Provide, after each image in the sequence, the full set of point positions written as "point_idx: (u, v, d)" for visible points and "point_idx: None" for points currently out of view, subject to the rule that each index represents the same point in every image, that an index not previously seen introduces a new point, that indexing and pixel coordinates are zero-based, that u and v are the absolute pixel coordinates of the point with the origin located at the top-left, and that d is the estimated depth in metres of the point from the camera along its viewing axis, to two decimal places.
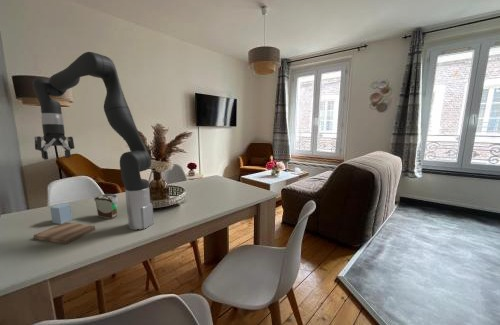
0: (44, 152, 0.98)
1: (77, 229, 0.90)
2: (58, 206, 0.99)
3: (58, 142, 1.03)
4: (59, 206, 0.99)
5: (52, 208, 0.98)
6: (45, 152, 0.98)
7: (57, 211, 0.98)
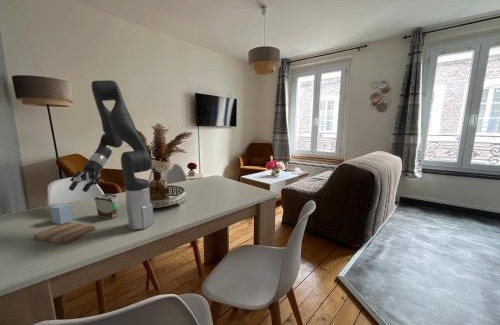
0: (72, 183, 1.10)
1: (77, 229, 0.90)
2: (58, 206, 0.99)
3: (85, 176, 1.11)
4: (59, 206, 0.99)
5: (52, 208, 0.98)
6: (72, 183, 1.10)
7: (57, 211, 0.98)
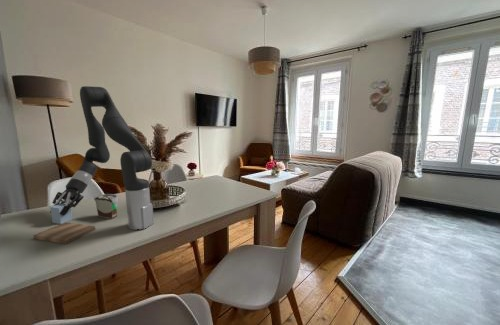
0: None
1: (77, 229, 0.90)
2: (58, 206, 0.99)
3: None
4: (59, 206, 0.99)
5: (52, 208, 0.98)
6: None
7: (57, 211, 0.98)
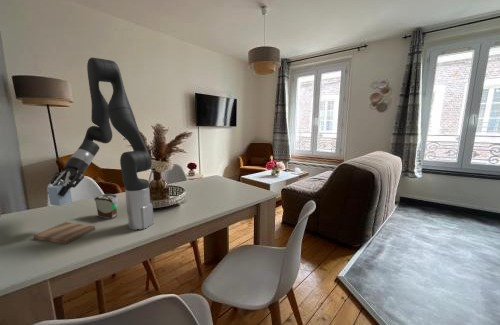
0: None
1: (77, 229, 0.90)
2: (56, 186, 0.90)
3: (66, 175, 0.94)
4: (57, 186, 0.90)
5: (50, 188, 0.89)
6: None
7: (55, 192, 0.89)
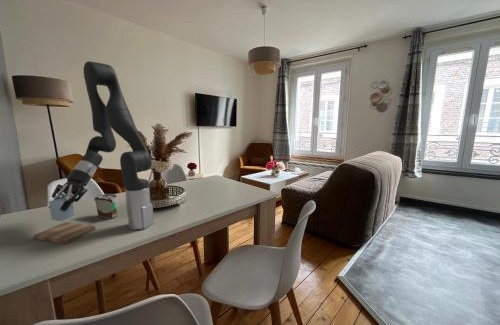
0: None
1: (77, 229, 0.90)
2: (58, 200, 0.86)
3: (69, 189, 0.90)
4: (59, 200, 0.86)
5: (51, 203, 0.85)
6: None
7: (57, 206, 0.85)
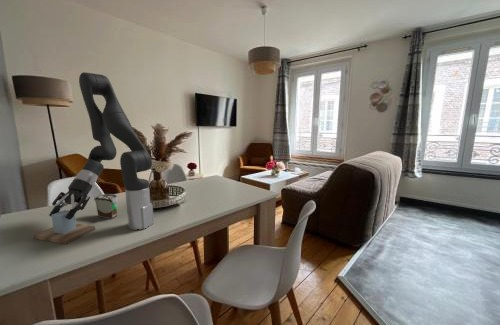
0: (54, 208, 0.89)
1: (77, 229, 0.90)
2: (60, 213, 0.87)
3: (70, 199, 0.90)
4: (61, 213, 0.87)
5: (54, 216, 0.86)
6: (54, 208, 0.89)
7: (60, 220, 0.86)
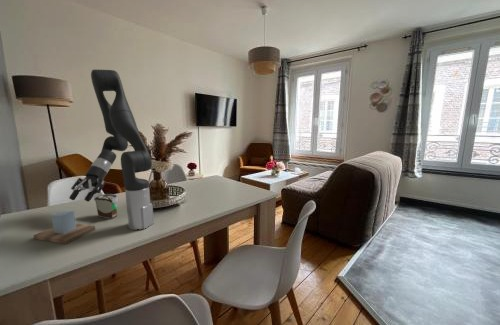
0: (73, 192, 0.99)
1: (77, 229, 0.90)
2: (60, 213, 0.87)
3: (88, 183, 1.00)
4: (61, 213, 0.87)
5: (54, 216, 0.86)
6: (73, 191, 0.99)
7: (60, 220, 0.86)
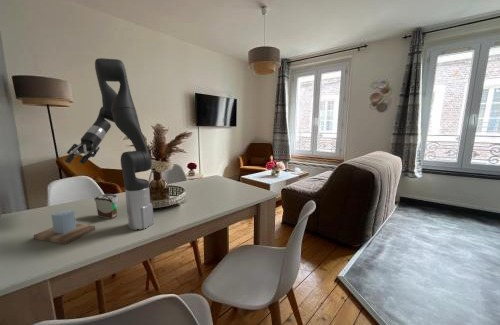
0: None
1: (77, 229, 0.90)
2: (60, 213, 0.87)
3: (83, 148, 1.05)
4: (61, 213, 0.87)
5: (54, 216, 0.86)
6: (69, 155, 1.04)
7: (60, 220, 0.86)
